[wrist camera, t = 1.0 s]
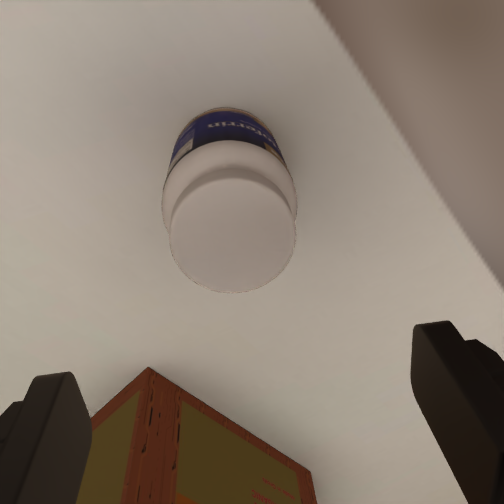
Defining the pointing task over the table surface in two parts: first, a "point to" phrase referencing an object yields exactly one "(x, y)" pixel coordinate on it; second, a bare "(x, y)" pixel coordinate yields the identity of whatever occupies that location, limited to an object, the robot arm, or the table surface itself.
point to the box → (182, 454)
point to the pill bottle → (229, 202)
